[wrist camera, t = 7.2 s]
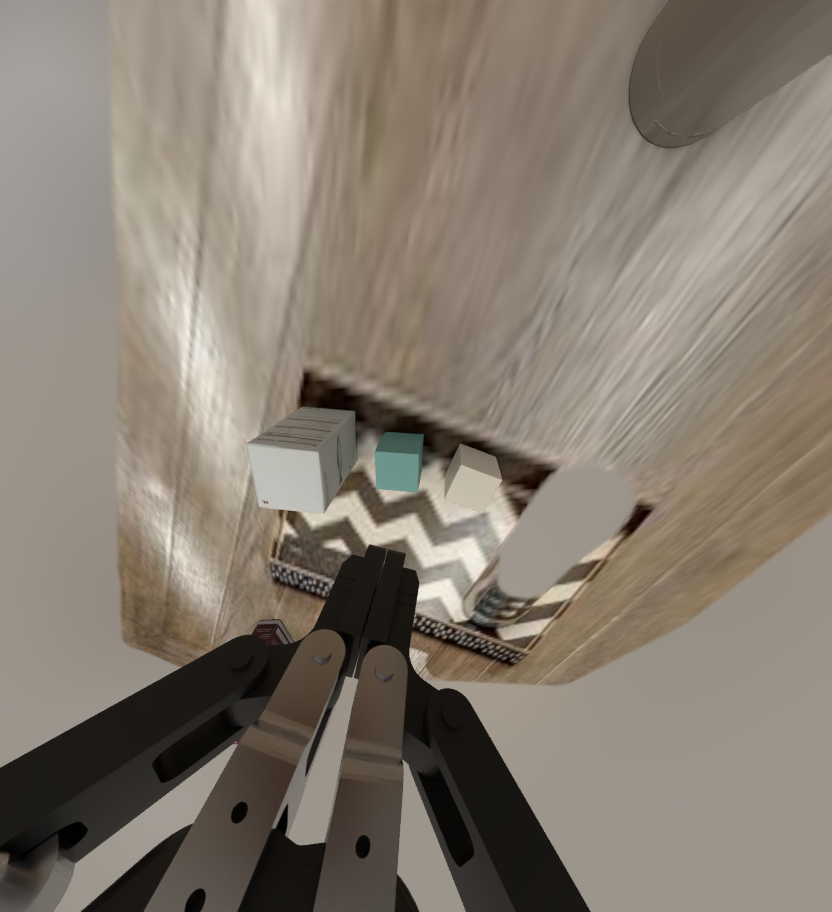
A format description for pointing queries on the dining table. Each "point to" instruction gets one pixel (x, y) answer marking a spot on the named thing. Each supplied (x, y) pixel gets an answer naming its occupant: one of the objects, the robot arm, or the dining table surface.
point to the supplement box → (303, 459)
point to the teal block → (399, 461)
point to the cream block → (472, 478)
